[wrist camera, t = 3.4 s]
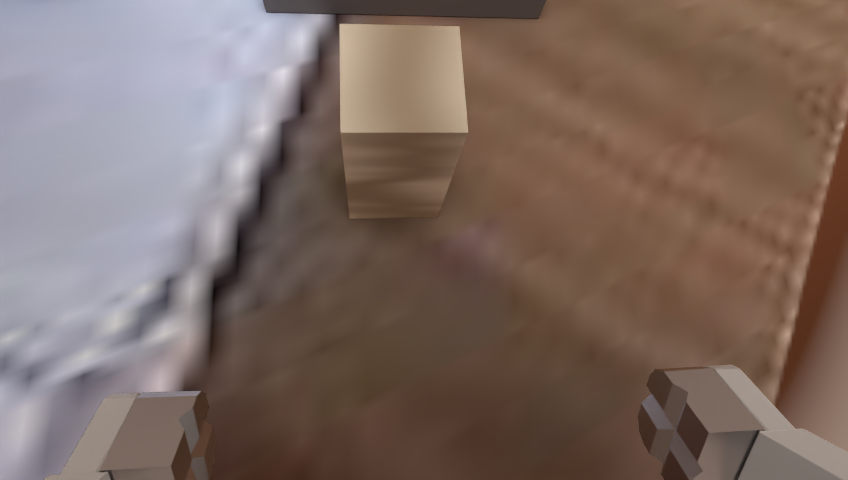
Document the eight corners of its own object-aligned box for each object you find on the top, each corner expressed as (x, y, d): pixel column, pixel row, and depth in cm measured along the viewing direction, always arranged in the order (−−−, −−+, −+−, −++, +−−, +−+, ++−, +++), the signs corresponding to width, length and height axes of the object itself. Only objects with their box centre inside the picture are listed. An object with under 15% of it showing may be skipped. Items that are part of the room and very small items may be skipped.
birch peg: (349, 218, 24) (340, 132, 17) (348, 138, 25) (339, 23, 18) (437, 217, 25) (468, 132, 17) (432, 138, 26) (459, 26, 18)
